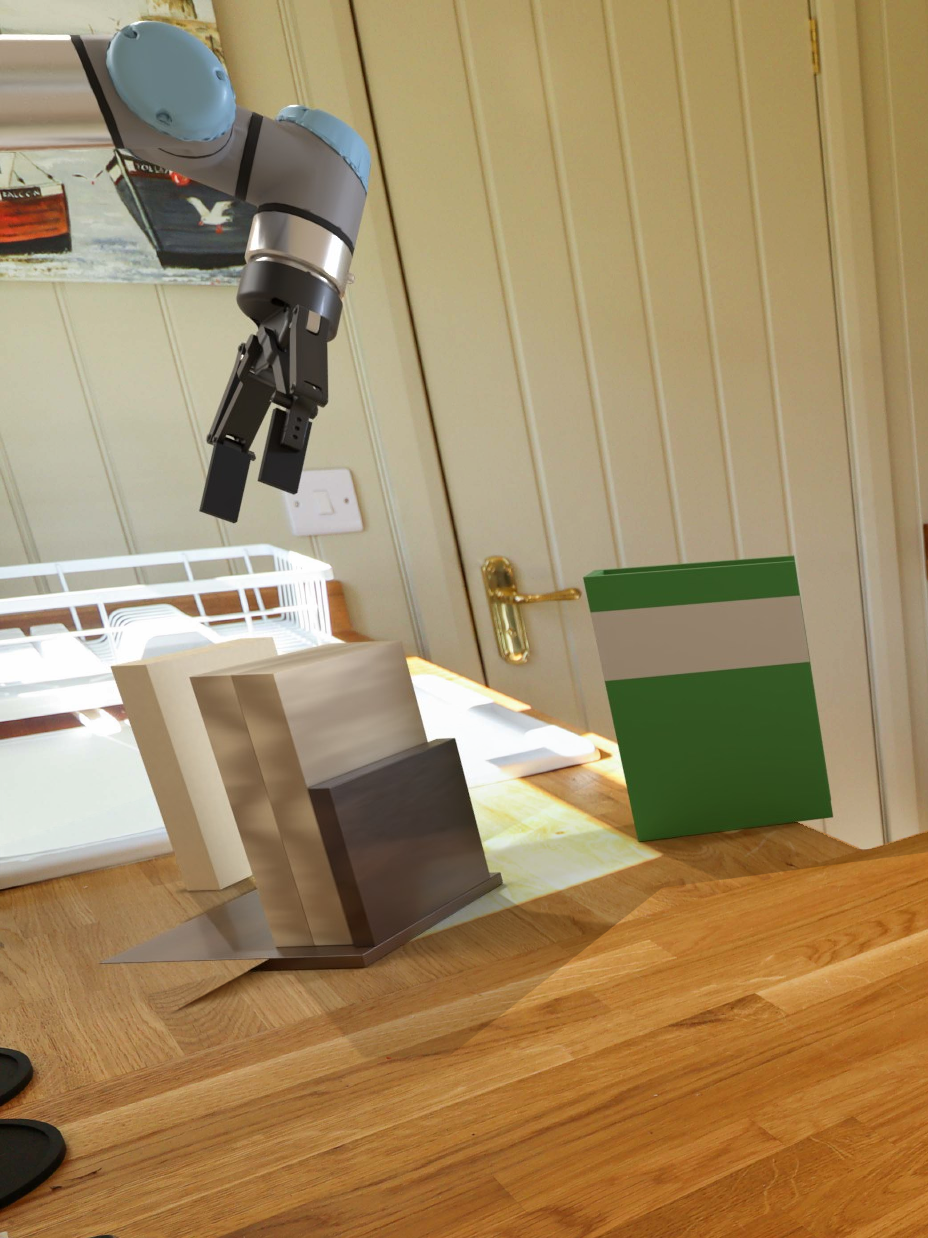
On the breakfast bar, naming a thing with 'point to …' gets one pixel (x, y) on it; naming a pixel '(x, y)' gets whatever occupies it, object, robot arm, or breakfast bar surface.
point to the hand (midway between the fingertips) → (246, 502)
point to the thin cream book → (188, 757)
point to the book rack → (331, 813)
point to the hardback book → (711, 694)
